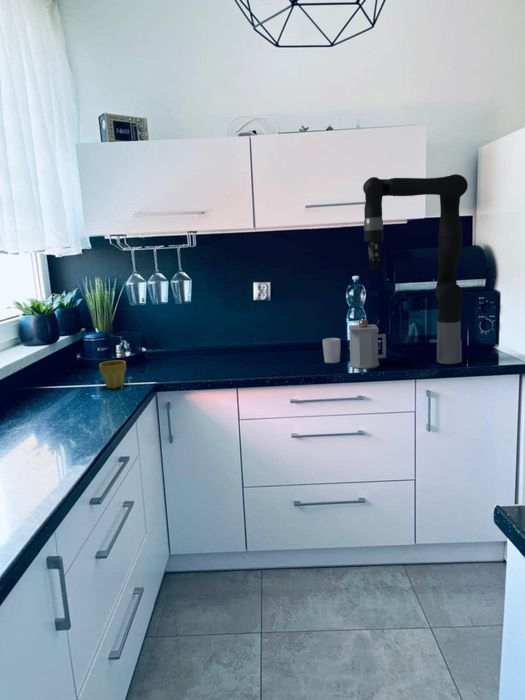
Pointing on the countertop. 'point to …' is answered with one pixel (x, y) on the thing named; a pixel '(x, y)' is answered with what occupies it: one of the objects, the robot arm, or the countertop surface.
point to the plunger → (363, 323)
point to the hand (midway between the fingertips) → (374, 269)
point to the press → (365, 346)
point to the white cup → (331, 350)
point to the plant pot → (113, 373)
